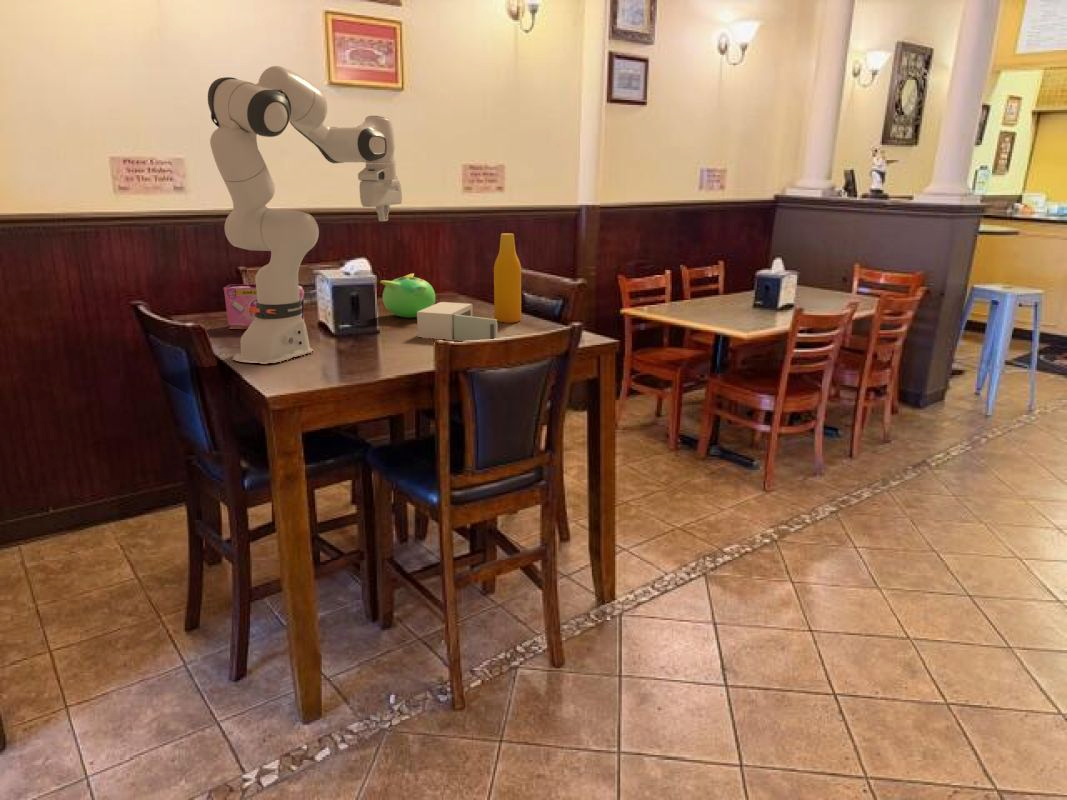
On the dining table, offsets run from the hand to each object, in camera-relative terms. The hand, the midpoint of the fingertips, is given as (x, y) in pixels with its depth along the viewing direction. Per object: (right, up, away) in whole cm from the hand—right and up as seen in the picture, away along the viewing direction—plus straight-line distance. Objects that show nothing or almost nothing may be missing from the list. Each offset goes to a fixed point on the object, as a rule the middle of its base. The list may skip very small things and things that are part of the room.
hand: (383, 220), depth 230 cm
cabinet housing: (+18, -34, +7) cm, 39 cm away
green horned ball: (+3, -26, +30) cm, 40 cm away
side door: (+28, -38, -6) cm, 47 cm away
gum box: (-40, -32, +13) cm, 53 cm away
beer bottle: (+37, -28, +26) cm, 53 cm away
